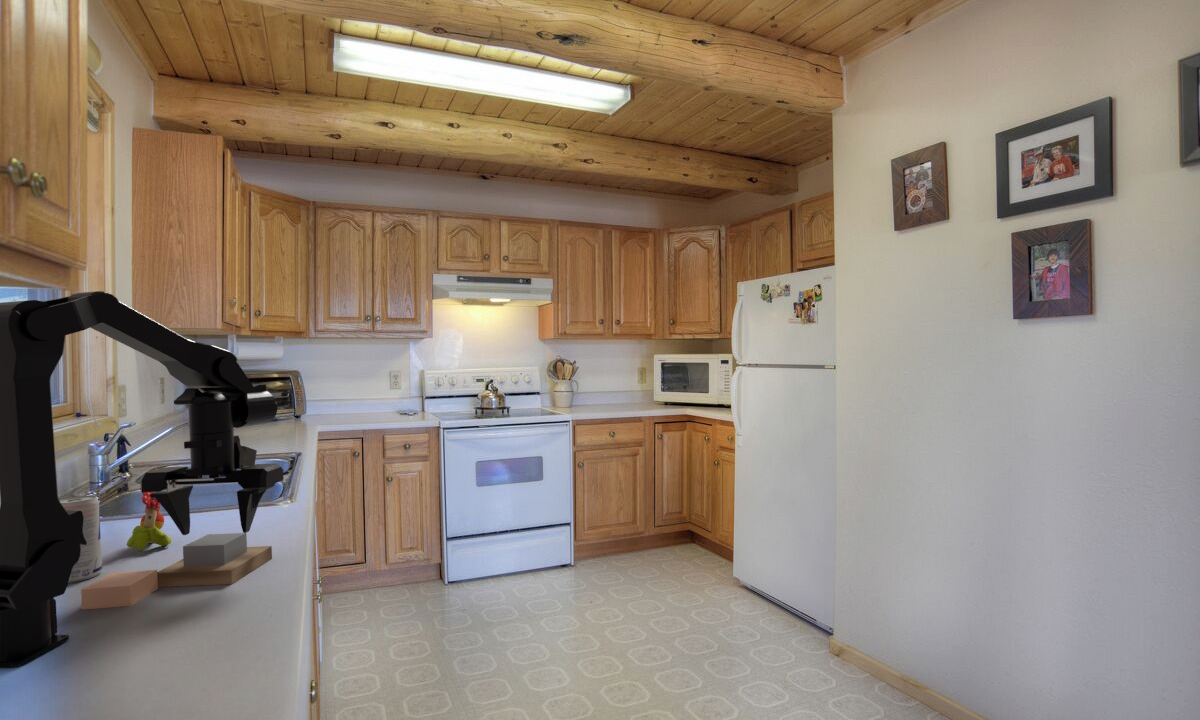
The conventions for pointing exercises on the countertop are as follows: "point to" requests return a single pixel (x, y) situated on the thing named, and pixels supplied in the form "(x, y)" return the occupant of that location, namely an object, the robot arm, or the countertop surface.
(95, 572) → the energy drink
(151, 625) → the countertop surface
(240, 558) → the walnut tower base
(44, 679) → the countertop surface
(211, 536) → the gray brick
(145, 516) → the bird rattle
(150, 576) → the terracotta brick
